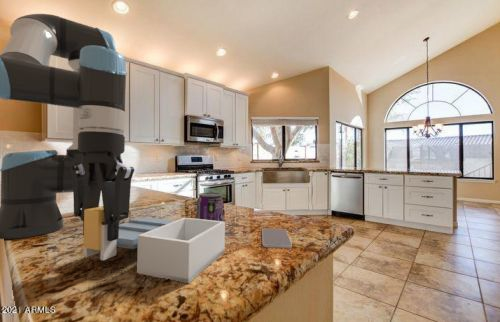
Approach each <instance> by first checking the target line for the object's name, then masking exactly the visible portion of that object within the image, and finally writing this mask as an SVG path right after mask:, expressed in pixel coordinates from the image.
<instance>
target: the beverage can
mask: <svg viewBox="0 0 500 322" xmlns="http://www.w3.org/2000/svg"><path fill="white" fill-rule="evenodd" d="M223 213H224V199H223V197H222V193H220V192H201V193H199V194H198V198H197V200H196V219H204V220H214V221H223V222H224V216H223V215H224V214H223Z"/></svg>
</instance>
